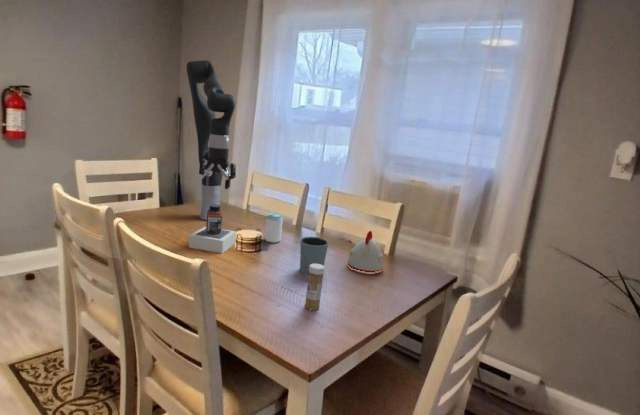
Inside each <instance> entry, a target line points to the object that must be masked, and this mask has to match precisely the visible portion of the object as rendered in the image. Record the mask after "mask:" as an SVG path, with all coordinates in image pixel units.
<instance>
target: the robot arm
mask: <svg viewBox="0 0 640 415" xmlns="http://www.w3.org/2000/svg"><path fill="white" fill-rule="evenodd" d="M186 75H187V80H188V85H189V89H190V90H189V91H190V93H191V94H190V95H191V100H192V107H193V110H192V111H193V118H194V119H193V120H194V123H195V129H196V130H195V131H196V136H197V148H198V150H197V151H198V165H199V169H198V174H199V175H201V176H202V178H201V192H200V210H199V219H200V220H203V221H207V211H208V210H209V209H210V205H212V204H216V205H220V206H221V196H222V195H221V193H222V192H221V191H222V181H223V176H224V178H225V181H224V182H225V183H224V189H225V190H228V189H229V188H230V187H231V180H233V179H236V177H237V176H236V173H237V171H236V170H237V169H236V168H237V166H236V163H235V162H233V163H231V162H229V161H228V160H229V150H230V149H229V148H230V137H229V136H230V124H231V121H232V117H233V115H234V114H233V113H234V111H235V109H236V102H237V101H236V99H235V96H234V95H233V94H230V93H226V92H225V90H224V88H223V87H222V85H221V83H220V81H219V78H218V75H217V72H216V71H215V67H214V65H213V63H212V62H211V61H210V60H206V59H203V60H194V61H193V60H192V61H188V62H187V63H186ZM199 84H203V87H202V88H203V91H204V94H205V96H206V98H207V99H205V97H204V96H203V95H202V93H201V91H200V89H199V86H198V85H199ZM216 113H223V115H222V116H220V117H216ZM228 167H229V169H230V172H229V170H228V169H227V168H228ZM210 174H211V175H210Z"/></svg>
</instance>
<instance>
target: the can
mask: <svg viewBox="0 0 640 415" xmlns="http://www.w3.org/2000/svg"><path fill="white" fill-rule="evenodd" d="M282 216H283V215H282V214H281V213H276V212H270V213H268V215H267V217H266V221H265V230H264V231H265V232H264V233H265V234H264V240H265V241H266V242H268V243H272V244H273V243H274V244H275V243H279V242H280V241H282V233H283V232H282V230H283V222H284V220H283V217H282Z"/></svg>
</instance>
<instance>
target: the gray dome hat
mask: <svg viewBox="0 0 640 415" xmlns="http://www.w3.org/2000/svg"><path fill="white" fill-rule="evenodd" d="M347 263H348V265H349V266H350V267H351V268H353V269H356V270H360V271H365V272H375V271H379V270H381V269H382V270H383V267H384V253H383V252H381V249H380V247H379V245H378V244H377V243H376V242H375V241H374V240H373V232H372V230H371V231H370V230H368V232H367V233H366V237H365V239H362V240H360V241H359V242H357V244H356V245H355V246H353V248H351V249H350V252H349V255H348V259H347Z"/></svg>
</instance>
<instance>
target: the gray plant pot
mask: <svg viewBox="0 0 640 415" xmlns="http://www.w3.org/2000/svg"><path fill="white" fill-rule="evenodd" d="M299 244H300V251H299V252H300V258H299V259H300V261H299V263H300V264H299V272H300V271H301V272H302V273H301V272H300V273H301V274H303V275H305V274H307V275H306V276H308V275H309V266H310V265H311V264H321V265H323V266H324V267H325V263H326V262H325V261H326V256H327V251H328V248H329V247H328V246H329V241H328V240H327V239H325V238H322V237H316V236H304V237H302V238H300V243H299Z"/></svg>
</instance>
